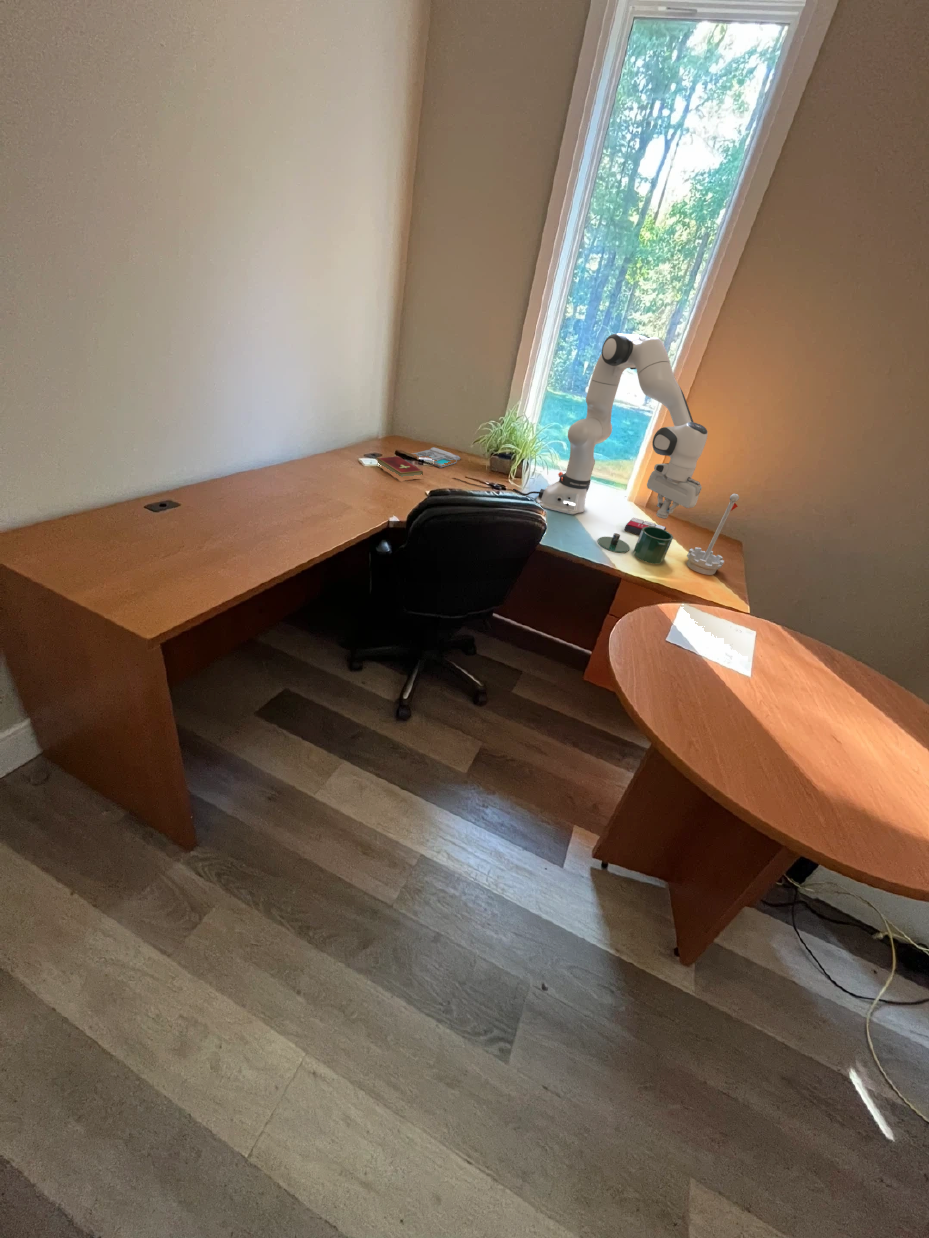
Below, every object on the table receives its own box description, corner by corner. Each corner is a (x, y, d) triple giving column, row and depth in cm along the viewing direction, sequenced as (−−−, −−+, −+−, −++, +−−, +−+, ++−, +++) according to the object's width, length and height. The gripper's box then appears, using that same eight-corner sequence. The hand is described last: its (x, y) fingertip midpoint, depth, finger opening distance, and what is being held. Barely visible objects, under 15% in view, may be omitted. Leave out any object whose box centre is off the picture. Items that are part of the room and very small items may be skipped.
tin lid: (599, 551, 190) (603, 538, 187) (595, 537, 200) (598, 525, 197) (631, 556, 190) (636, 544, 187) (625, 542, 200) (629, 530, 197)
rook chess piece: (655, 517, 179) (663, 496, 175) (655, 513, 183) (663, 492, 178) (667, 520, 178) (676, 499, 174) (667, 516, 182) (676, 495, 177)
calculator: (632, 516, 215) (667, 525, 210) (629, 525, 218) (663, 535, 212) (626, 523, 207) (661, 533, 202) (623, 532, 210) (658, 543, 204)
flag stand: (705, 578, 183) (742, 502, 166) (677, 561, 192) (709, 488, 175) (725, 573, 190) (763, 499, 173) (697, 557, 198) (730, 486, 181)
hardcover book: (397, 463, 238) (398, 455, 236) (422, 479, 226) (423, 470, 224) (376, 466, 231) (376, 457, 229) (400, 481, 219) (401, 472, 217)
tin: (637, 565, 184) (647, 540, 178) (628, 545, 198) (637, 521, 192) (667, 570, 184) (678, 545, 178) (656, 550, 198) (666, 526, 192)
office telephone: (435, 445, 264) (465, 456, 256) (434, 450, 266) (465, 460, 258) (408, 452, 247) (440, 463, 239) (407, 457, 249) (439, 468, 241)
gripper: (709, 483, 166) (692, 521, 174) (663, 462, 179) (649, 498, 187) (697, 484, 163) (680, 522, 171) (651, 463, 176) (638, 499, 184)
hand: (664, 509), depth 179 cm, fingers closed on rook chess piece, 3 cm apart
